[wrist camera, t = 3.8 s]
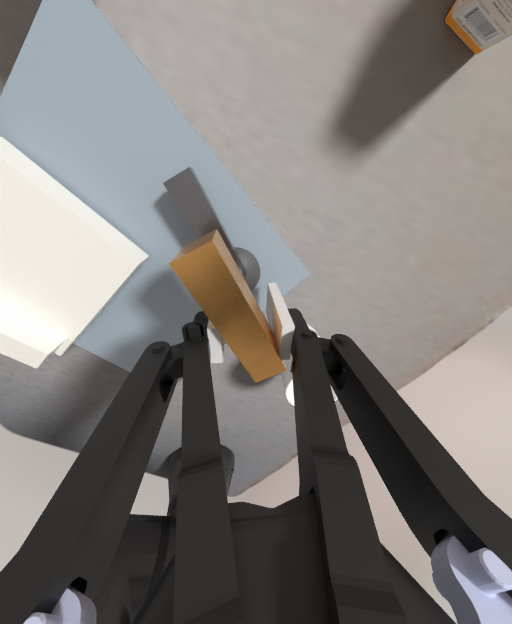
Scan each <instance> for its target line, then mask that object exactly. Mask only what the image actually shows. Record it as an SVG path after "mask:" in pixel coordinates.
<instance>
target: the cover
mask: <svg viewBox="0 0 512 624" xmlns="http://www.w3.org/2000/svg"><path fill="white" fill-rule="evenodd" d="M148 257H149V255H147V254H146V253H145V252H144V251H143V250H141V249H140V248H139V247H138V246H136V245H135V244H134V243H133V242H131V241H130V240H129V239H128V238H127V237H125V236H124V235H123V234H122V233H120V232H119V231H118V230H117V229H115V228H114V227H113V226H112V225H110V224H109V223H108V222H107V221H106V220H104V219H103V218H102V217H101V216H99V215H98V214H97V213H96V212H94V211H93V210H92V209H91V208H89V207H88V206H87V205H86V204H85V203H83V202H82V201H81V200H80V199H78V198H77V197H76V196H75V195H73V194H72V193H71V192H70V191H68V190H67V189H66V188H65V187H64V186H62V185H61V184H60V183H59V182H57V181H56V180H55V179H54V178H52V177H51V176H50V175H49V174H47V173H46V172H45V171H44V170H43V169H41V168H40V167H39V166H38V165H36V164H35V163H34V162H33V161H31V160H30V159H29V158H28V157H26V156H25V155H24V154H23V153H22V152H20V151H19V150H18V149H17V148H15V147H14V146H13V145H12V144H10V143H9V142H8V141H7V140H6V139H4V138H3V137H0V353H1V354H4V355H6V356H8V357H11V358H13V359H15V360H18V361H20V362H22V363H25V364H27V365H29V366H32V367H34V368H36V369H37V368H38V367H39V366H40V365H41V364H43V363H44V362H45V361H46V360H47V359H48V358H49V357H50V356H51V355H52V354H54V353H55V354H57V355H59V356H61V355H62V354H63V353H64V352H65V351H66V350H67V349H68V348H69V347H70V346H71V345H72V344H73V343H74V342H75V341H76V340H77V339H78V338H79V337H80V336H81V335H82V334H83V332H84V331H85V330H86V329H87V328H88V327H89V325H90V324H91V323H92V322H93V321H94V320H95V318H96V317H97V316H98V315H99V314H100V313H101V311H102V310H103V309H104V308H105V307H106V306H107V304H108V303H109V302H110V301H111V300H112V299H113V298H114V296H115V295H116V294H117V293H118V292H119V291H120V289H121V288H122V287H123V286H124V285H125V284H126V282H127V281H128V280H129V279H130V278H131V277H132V275H133V274H134V273H135V272H136V271H137V270H138V268H139V267H140V266H141V265H142V264H143V263H144V261H145V260H146V259H147V258H148Z"/></svg>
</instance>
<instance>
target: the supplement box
mask: <svg viewBox="0 0 512 624" xmlns="http://www.w3.org/2000/svg"><path fill="white" fill-rule="evenodd" d="M445 23H446V24H447V25H448V26H449V27H450V28H451V29H452V30H453V31H454V32H455V34H457V35H458V37H459V38H460V39H462V41H463V42H464V43H465V44H466V46H468V48H469V49H471V50H472V52H474V54H478V53H479V52H481V51H483V50H485V49H487V48H489V47H490V46H492V45H494V44H496V43H498V42H500V41H501V40H503V39H505V38H507V37H509V36H510V35H512V0H456V1H455V3H454V4H453V6H452V8H451V10H450V11H449V13H448V15H447V17H446V18H445Z"/></svg>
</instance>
